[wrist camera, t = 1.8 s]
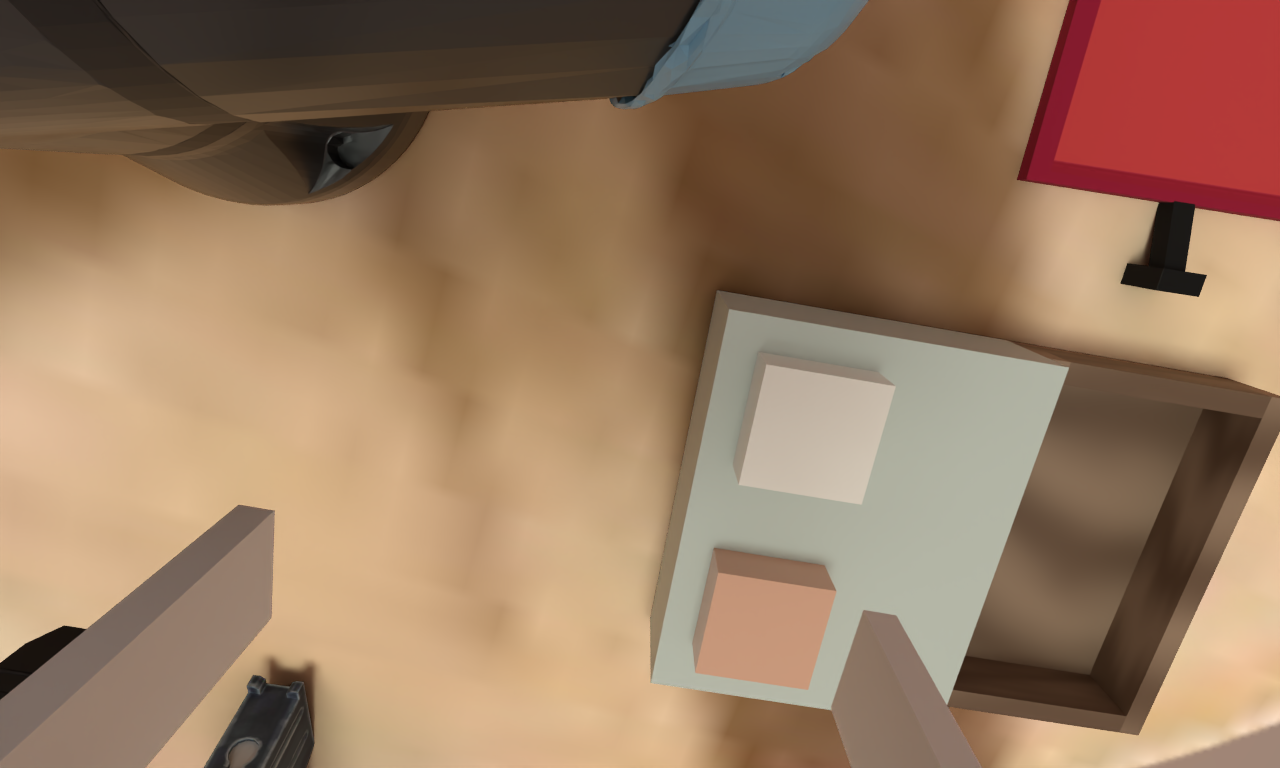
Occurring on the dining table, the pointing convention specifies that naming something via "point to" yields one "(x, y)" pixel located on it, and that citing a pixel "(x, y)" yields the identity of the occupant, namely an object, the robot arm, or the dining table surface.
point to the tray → (1114, 541)
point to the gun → (267, 729)
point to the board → (895, 495)
